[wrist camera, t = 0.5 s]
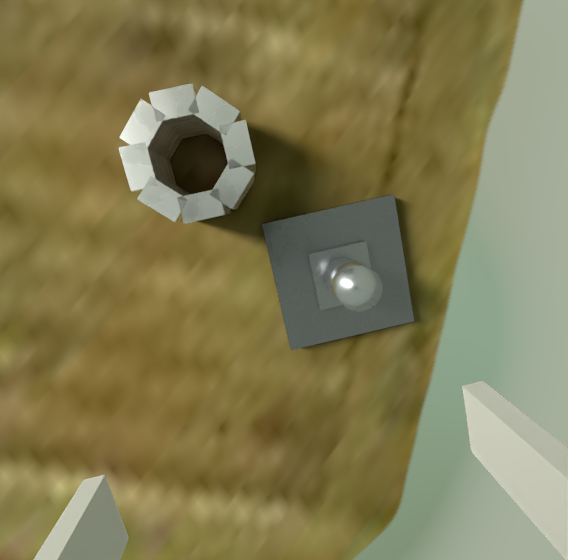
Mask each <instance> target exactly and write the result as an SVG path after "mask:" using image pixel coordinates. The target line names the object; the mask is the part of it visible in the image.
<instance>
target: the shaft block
mask: <svg viewBox="0 0 568 560" xmlns="http://www.w3.org/2000/svg"><path fill="white" fill-rule="evenodd" d="M262 227H263V231H264V235H265V240H266V244H267V248H268V253H269V257H270V261H271V266H272V270H273V274H274V279H275V283H276V287H277V292H278V296H279V300H280V305H281V309H282V314H283V318H284V322H285V327H286V331H287V335H288V340H289V344H290V348H291V350H294V349H298V348H303V347H307V346H311V345H315V344H320V343H324V342H328V341H332V340H337V339H341V338H345V337H349V336H354V335H358V334H362V333H366V332H371V331H375V330H379V329H383V328H388V327H392V326H396V325H400V324H405V323H409V322H413V321H414V316H413V310H412V304H411V297H410V291H409V285H408V278H407V272H406V266H405V259H404V253H403V247H402V240H401V234H400V228H399V221H398V215H397V209H396V202H395V196H394V195H386V196H382V197H378V198H373V199H369V200H364V201H360V202H355V203H351V204H347V205H342V206H338V207H333V208H329V209H324V210H320V211H316V212H311V213H307V214H302V215H298V216H294V217H289V218H285V219H280V220H276V221H271V222H267V223H263V224H262Z"/></svg>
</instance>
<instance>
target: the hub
mask: <svg viewBox="0 0 568 560" xmlns="http://www.w3.org/2000/svg"><path fill="white" fill-rule="evenodd" d="M149 96H150V99H151V103H152V106H151V105H150V104H148V103H146V102H145V101H143V100H142V99H140V101H139V103H138V105H137V107H136V108H135V110H134V112H133V114H132V116H131V117H130V119H129V121H128V123H127V125H126V126H125V128H124V130H123V132H122V134H121V136H120V137H119V138H121V139H122V140H124V141H125V142H127V143H129V144H130V145H129V146H124V147H119V152H120V155H121V158H122V162H123V165H124V169H125V172H126V175H127V179H128V182H129V186H130V189H131V191H133V192H140V193H141V194H140V195H139V197H138V200H139V201H141V202H143V203H144V204H146V205H147V206H149V207H151V208H152V209H154V210H156V211H157V212H159V213H161V214H162V215H164V216H165V217H167V218H169V219H170V220H172V221H174V222H179V221H184V224H186V223H190V222H195V221H200V220H204V219H209V218H213V217H218V216H222V215H226V214H231V211H230V208H231V209H238V207H239V205H240V204H241V202H242V200H243V199H244V197H245V195H246V194H247V192H248V191H249V189H250V187H251V186H252V184H253V182H254V181H255V179H254V173H256V164H255V159H254V155H253V150H252V146H251V141H250V137H249V133H248V128H247V124H246V120H243V121H242V120H241V115H240V111H239V110H237V109H236V108H234V107H233V106H231V105H230V104H228V103H227V102H225V101H224V100H222V99H221V98H220V97H218V96H217V95H215V94H214V93H212V92H211V91H209V90H208V89H206V88H205V87H203V86H202V87H201V88H200V90H199V92H198V94H197V92H196V90H195V88H194V86H193V84H187V85H183V86H178V87H173V88H169V89H164V90H159V91H155V92H150V93H149ZM203 134H208V135H209V136H211V137H212V138H214V139H216V140H217V141H219V142H220V143H222V144H223V145H224V149H225V153H226V157H227V161H228V164H227V166H226V168H225V169H224V171H223V173H222V174H221V176H220V178H219V179H218V181H217V183H216V184H215V186H214V188H213V189H212V190H209V191H204V192H200V193H195V194H190V193H188V192H186V191H185V190H183V189H182V188H180V187H178V186H177V185H176V181H175V178H174V174H173V170H172V166H171V163H170V160H171V158H172V156H173V154H174V153H175V151H176V149H177V147H178V146H179V144H180V142H181V140H182V139H184V138H189V137H193V136H198V135H203Z"/></svg>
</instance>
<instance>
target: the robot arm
mask: <svg viewBox="0 0 568 560" xmlns="http://www.w3.org/2000/svg"><path fill="white" fill-rule="evenodd" d="M462 388H463V396H464V403H465V409H466V417H467V424H468V431H469V439H470V446H471V452H472V453H473V454H474V455H475V456H476V457H477V459H479V461H480V462H481V463H482V464H483V465H484V467H485V468H486V469H487V470H488V471H489V472H490V473H491V474H492V476H493V477H494V478H495V479H496V480H497V482H498V483H499V484H500V485H501V486H502V487H503V488H504V490H505V491H506V492H507V493H508V494H509V495H510V497H511V498H512V499H513V500H514V501H515V502H516V503H517V504H518V505H519V507H520V508H521V509H522V510H523V511H524V513H525V514H526V515H527V516H528V517H529V518H530V520H531V521H532V522H533V523H534V524H535V525H536V526H537V528H538V529H539V530H540V531H541V532H542V533H543V534H544V536H545V537H546V538H547V539H548V540H549V541H550V542H551V544H552V545H553V546H554V547H555V548H556V549H557V551H558V552H559V553H560V554H561V555H562V556H563V557H564V558H565V560H568V447H566V446H565V445H564V444H563V443H561V442H560V441H559V440H558V439H556V438H555V437H554V436H552V435H551V434H550V433H548V432H547V431H546V430H545V429H544V428H542V427H541V426H540V425H538V424H537V423H536V422H535V421H533V420H532V419H531V418H529V417H528V416H527V415H525V414H524V413H523V412H522V411H520V410H519V409H518V408H517V407H515V406H514V405H513V404H511V403H510V402H509V401H508V400H506V399H505V398H504V397H502V396H501V395H500V394H499V393H497V392H496V391H495V390H494V389H492V388H491V387H490V386H488V385H487V384H486V383H485V382H483V381H480V382H476V383H472V384H468V385H464V386H462ZM128 539H129V537H128V535H127V532H126V529H125V527H124V524H123V521H122V519H121V516H120V513H119V511H118V508H117V505H116V503H115V500H114V497H113V495H112V492H111V489H110V487H109V484H108V481H107V479H106V476H105V475H101V476H97V477H93V478H89V479H85V480H83V482H82V483H81V485H80V486H79V488H78V490H77V491H76V493H75V494H74V496H73V498H72V499H71V501H70V502H69V504H68V506H67V507H66V509H65V510H64V512H63V514H62V515H61V517H60V518H59V520H58V522H57V523H56V525H55V526H54V528H53V530H52V531H51V533H50V534H49V536H48V537H47V539H46V541H45V542H44V544H43V545H42V547H41V549H40V550H39V552H38V553H37V555H36V557H35V558H34V560H121V557H122V555H123V552H124V550H125V547H126V544H127V542H128Z"/></svg>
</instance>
